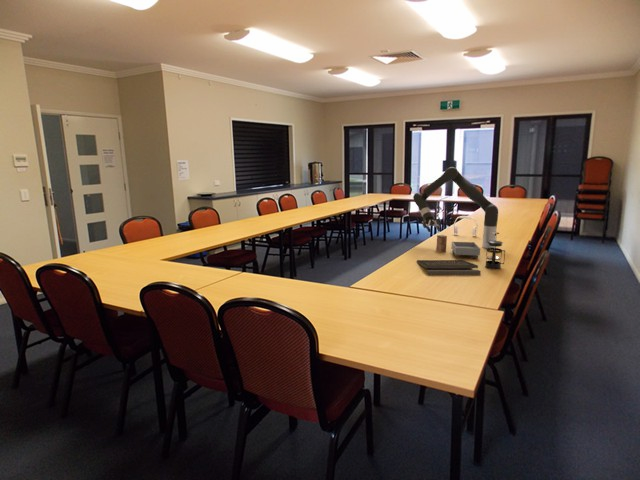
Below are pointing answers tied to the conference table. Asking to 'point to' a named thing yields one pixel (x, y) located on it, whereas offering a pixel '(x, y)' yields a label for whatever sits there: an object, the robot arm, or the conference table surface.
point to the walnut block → (441, 243)
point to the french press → (494, 254)
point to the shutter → (449, 265)
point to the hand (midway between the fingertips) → (434, 231)
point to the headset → (467, 218)
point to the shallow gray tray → (465, 249)
